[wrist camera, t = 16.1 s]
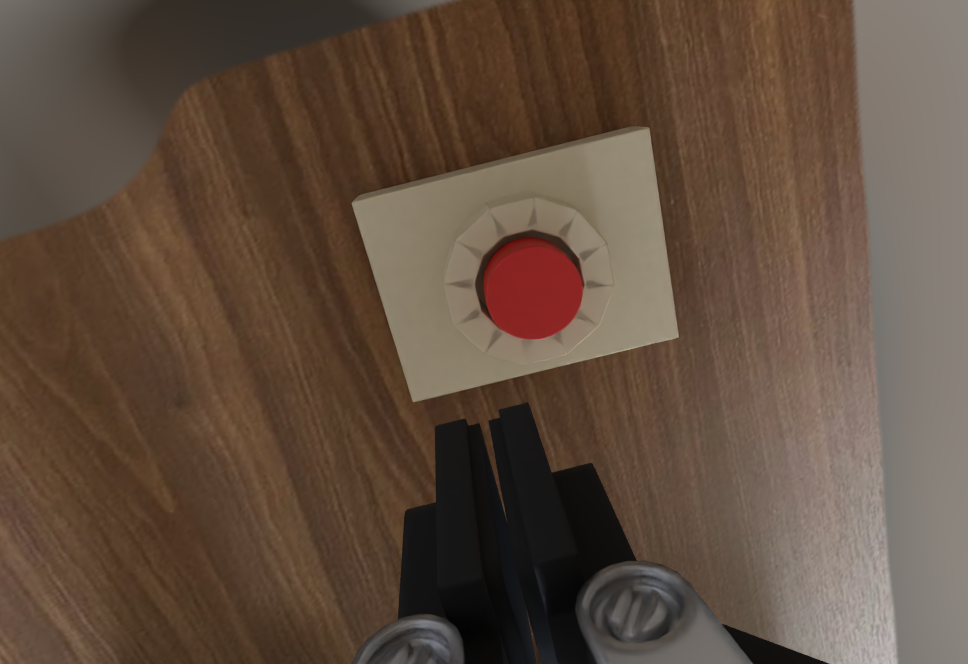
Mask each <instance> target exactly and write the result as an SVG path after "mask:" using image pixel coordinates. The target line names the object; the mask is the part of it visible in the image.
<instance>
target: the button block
mask: <svg viewBox="0 0 968 664" xmlns="http://www.w3.org/2000/svg"><path fill="white" fill-rule="evenodd" d="M352 206H353V210H354V213H355V216H356V219H357V222H358V226H359V229H360V232H361V235H362V239H363V242H364V245H365V248H366V252H367V255H368V258H369V261H370V265H371V268H372V271H373V274H374V278H375V281H376V284H377V287H378V291H379V294H380V297H381V300H382V304H383V307H384V310H385V313H386V317H387V320H388V323H389V326H390V330H391V333H392V336H393V339H394V343H395V346H396V349H397V352H398V355H399V359H400V362H401V365H402V368H403V372H404V375H405V378H406V381H407V385H408V388H409V391H410V394H411V398H412V401H413V402H417V401H421V400H425V399H429V398H434V397H438V396H442V395H446V394H450V393H454V392H458V391H462V390H466V389H470V388H474V387H478V386H482V385H486V384H491V383H495V382H499V381H503V380H507V379H511V378H515V377H519V376H523V375H527V374H531V373H535V372H539V371H543V370H547V369H552V368H556V367H560V366H564V365H568V364H572V363H576V362H580V361H584V360H588V359H592V358H596V357H600V356H604V355H609V354H613V353H617V352H621V351H625V350H629V349H633V348H637V347H641V346H645V345H649V344H653V343H657V342H661V341H666V340H670V339H674V338H678V336H679V334H678V327H677V320H676V313H675V306H674V299H673V292H672V285H671V278H670V270H669V263H668V256H667V249H666V242H665V235H664V228H663V221H662V214H661V207H660V200H659V192H658V185H657V178H656V171H655V164H654V157H653V150H652V143H651V136H650V129H649V127H638V126H630V127H626V128H622V129H619V130H615V131H611V132H607V133H603V134H599V135H595V136H591V137H587V138H583V139H579V140H575V141H571V142H567V143H563V144H559V145H555V146H551V147H547V148H543V149H539V150H535V151H531V152H527V153H523V154H519V155H515V156H512V157H508V158H504V159H500V160H496V161H492V162H488V163H484V164H480V165H476V166H472V167H468V168H464V169H460V170H456V171H452V172H448V173H444V174H440V175H436V176H432V177H428V178H424V179H420V180H416V181H412V182H408V183H405V184H401V185H397V186H393V187H389V188H385V189H381V190H377V191H373V192H369V193H365V194H361V195H359V196H358V197H357V198H356V199H355V200H354V201H353V202H352ZM525 237H536V238H541V239H545V240H548V241H550V242H552V243H554V244H555V245H557V246H558V247H559V248H560V249H561V250H562V251H563V252H564V253H565V254H566V255H567V256H568V257H569V258H570V260H571V261H572V262H573V263H574V265H575V266H576V268H577V269H578V271H579V274H580V276H581V280H582V286H583V296H582V302H581V305H580V308H579V310H578V312H577V314H576V316H575V317H574V319H573V320H572V321H571V323H570V324H569V325H568V326H567V327H565V328H564V329H563V330H562V331H560V332H558V333H557V334H555V335H553V336H550V337H547V338H544V339H538V340H526V339H520V338H517V337H514V336H512V335H510V334H508V333H506V332H505V331H503V330H502V329H501V328H500V327H499V326H498V325H497V324H496V323H495V322H494V320H493V319H492V317H491V315H490V313H489V311H488V308H487V304H486V300H485V296H484V291H483V276H484V272H485V269H486V266H487V264H488V262H489V260H490V259H491V257H492V256H493V255H494V253H495V252H496V251H497V250H498V249H500V248H501V247H502V246H504V245H505V244H507V243H509V242H511V241H513V240H516V239H519V238H525Z"/></svg>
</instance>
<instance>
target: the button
mask: <svg viewBox="0 0 968 664" xmlns="http://www.w3.org/2000/svg"><path fill="white" fill-rule="evenodd" d="M483 291H484V296H485V300H486V304H487V308H488V311H489V313H490V315H491V317H492V319H493V320H494V322H495V323H496V324H497V325H498V326H499V327H500V328H501V329H502V330H503V331H505V332H506V333H508V334H510V335H512V336H514V337H517V338H520V339H526V340H538V339H544V338H547V337H550V336H553V335H555V334H557V333H558V332H560V331H562V330H563V329H564V328H565V327H567V326H568V325H569V324H570V323H571V321H572V320H573V319H574V317H575V316H576V314H577V312H578V310H579V308H580V305H581V302H582V296H583V286H582V280H581V276H580V274H579V271H578V269H577V268H576V266H575V265H574V263H573V262H572V261H571V260H570V258H569V257H568V256H567V255H566V254H565V253H564V252H563V251H562V250H561V249H560V248H559V247H558V246H557V245H555V244H554V243H552V242H550V241H548V240H545V239H541V238H536V237H525V238H519V239H516V240H513V241H511V242H509V243H507V244H505V245H504V246H502V247H501V248H500V249H498V250H497V251H496V252H495V253H494V255H493V256H492V257H491V259H490V260H489V262H488V264H487V266H486V269H485V272H484V276H483Z"/></svg>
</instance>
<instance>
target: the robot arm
mask: <svg viewBox="0 0 968 664" xmlns="http://www.w3.org/2000/svg"><path fill="white" fill-rule="evenodd" d="M499 414H500V418H497V419H493V420H490V421H489V426H490V431H491V437H492V442H493V448H494V453H495V459H496V464H497V469H498V475H499V480H500V486H501V491H502V497H503V502H504V508H505V513H506V517H505V513H504V510H503V506H502V502H501V499H500V495H499V492H498V488H497V484H496V481H495V477H494V473H493V470H492V466H491V463H490V459H489V455H488V452H487V448H486V445H485V441H484V437H483V434H482V430H481V427H480V424H479V423H478V424H474V425H470V426H468V423H467V420H466V418H464V419H461V420H457V421H453V422H449V423H445V424H441V425H437V426H435V462H436V502H435V503H431V504H427V505H423V506H419V507H415V508H411V509H407V510H406V511H405V517H404V532H403V547H402V563H401V578H400V594H399V610H398V619H397V620H395V621H393V622H391V623H389V624H388V625H386V626H384V627H382V628H381V629H379V630H378V631H377V632H376V633H374V634H373V635H372V636H371V637H369V638H368V639H367V641H366V642H365V643H364V644H363V646H362V647H361V648H360V649H359V650H358V652H357V653H356V655H355V657H354V659H353V662H352V664H537V662H536V657H535V652H534V646H533V641H532V636H531V630H530V625H529V620H528V615H529V619H530V622H531V626H532V629H533V633H534V637H535V640H536V644H537V647H538V651H539V654H540V658H541V662H542V664H828V663H826V662H823V661H820V660H818V659H815V658H812V657H810V656H807V655H804V654H802V653H799V652H796V651H794V650H791V649H788V648H786V647H783V646H780V645H778V644H775V643H772V642H770V641H767V640H764V639H762V638H759V637H756V636H754V635H751V634H748V633H746V632H743V631H740V630H738V629H735V628H732V627H730V626H727V625H724V624H722V623H721V622H720V621H719V620H718V619H717V617H716V616H715V615H714V614H713V612H712V611H711V610H710V608H709V607H708V606H707V605H706V603H705V602H704V601H703V600H702V598H701V597H700V596H699V595H698V593H697V592H696V591H695V589H694V588H693V587H692V586H691V584H690V583H689V582H688V581H687V580H686V579H685V578H683V577H682V576H681V575H680V574H679V573H678V572H677V571H675V570H672V569H670V568H668V567H666V566H664V565H662V564H658V563H653V562H648V561H637V560H636V558H635V556H634V554H633V551H632V549H631V547H630V545H629V543H628V540H627V538H626V536H625V534H624V532H623V529H622V527H621V525H620V523H619V520H618V518H617V516H616V514H615V512H614V509H613V507H612V505H611V503H610V501H609V498H608V496H607V494H606V492H605V490H604V487H603V485H602V483H601V481H600V479H599V476H598V474H597V472H596V470H595V468H594V466H593V464H592V463H588V464H584V465H580V466H576V467H572V468H568V469H565V470H561V471H557V472H553V473H551V470H550V467H549V463H548V460H547V457H546V454H545V451H544V448H543V445H542V442H541V439H540V436H539V433H538V430H537V427H536V424H535V421H534V418H533V415H532V412H531V409H530V406H529V403H528V402H527V403H523V404H519V405H515V406H512V407H508V408H504V409H500V410H499ZM506 518H507V521H506ZM526 608H527V609H526ZM527 612H528V615H527Z"/></svg>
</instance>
